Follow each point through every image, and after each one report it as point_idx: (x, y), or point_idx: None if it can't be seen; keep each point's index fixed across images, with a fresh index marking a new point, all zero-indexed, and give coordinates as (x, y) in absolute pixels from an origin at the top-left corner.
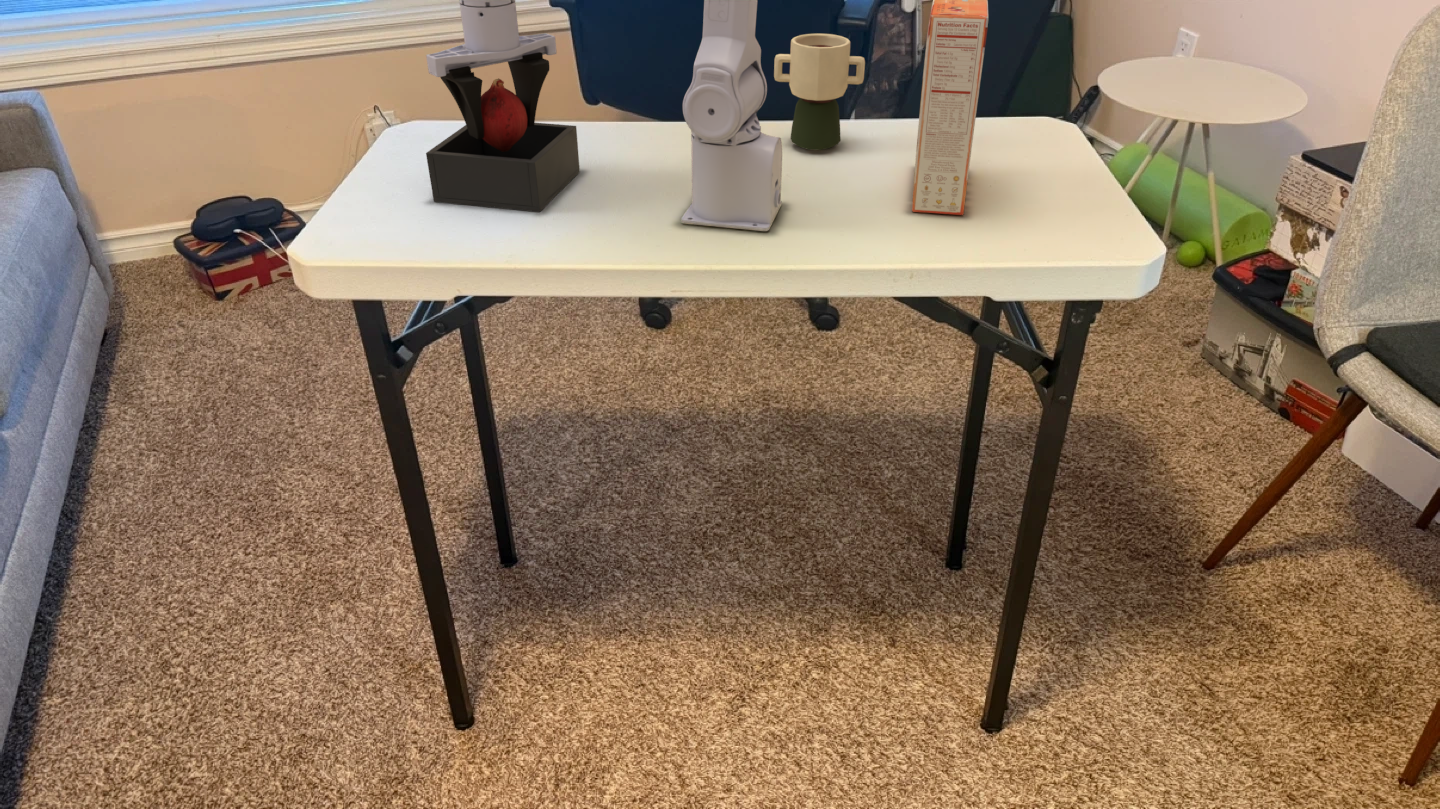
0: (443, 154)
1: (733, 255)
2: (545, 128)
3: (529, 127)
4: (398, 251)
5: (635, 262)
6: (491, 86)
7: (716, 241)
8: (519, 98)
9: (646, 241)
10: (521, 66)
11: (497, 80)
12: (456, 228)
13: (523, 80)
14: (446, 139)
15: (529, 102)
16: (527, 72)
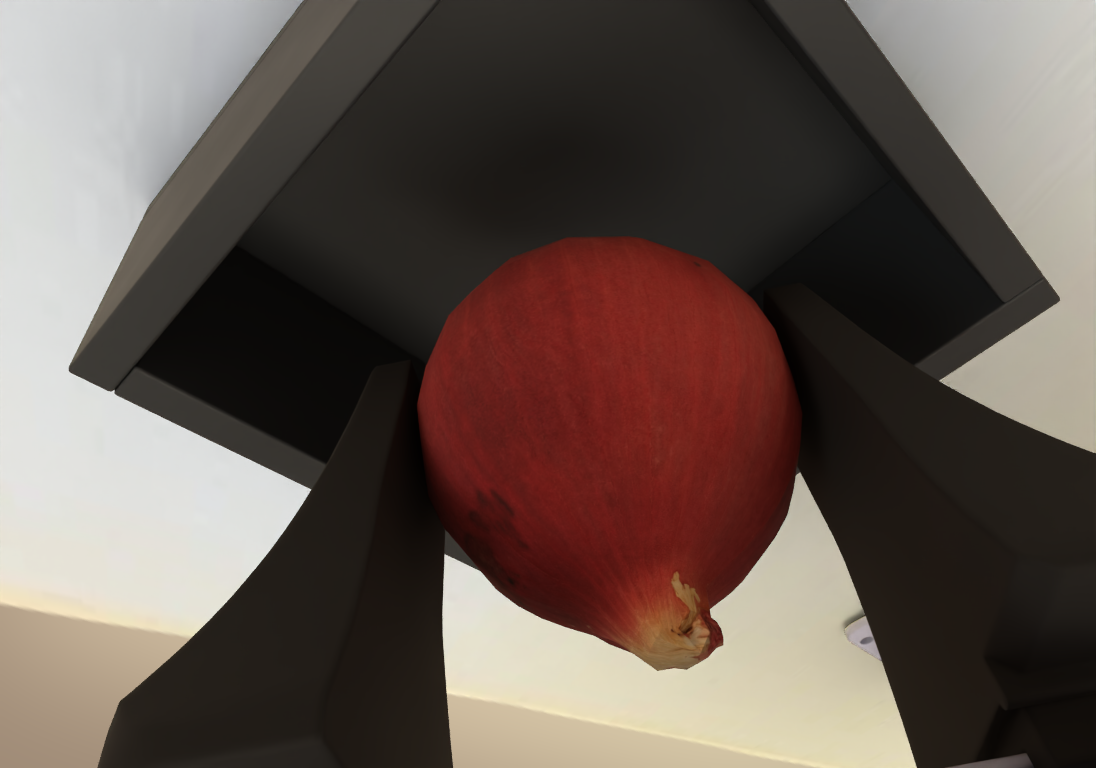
0: (181, 426)
1: (809, 733)
2: (927, 208)
3: (867, 134)
4: (14, 544)
5: (622, 716)
6: (606, 625)
7: (833, 692)
8: (838, 411)
9: (707, 661)
10: (955, 713)
11: (671, 667)
12: (231, 467)
13: (900, 602)
14: (223, 192)
15: (828, 513)
16: (925, 725)
